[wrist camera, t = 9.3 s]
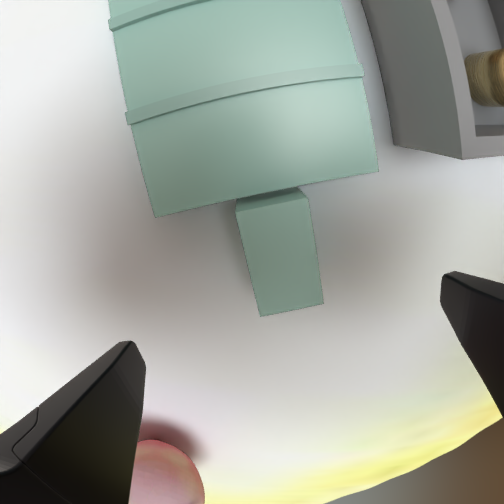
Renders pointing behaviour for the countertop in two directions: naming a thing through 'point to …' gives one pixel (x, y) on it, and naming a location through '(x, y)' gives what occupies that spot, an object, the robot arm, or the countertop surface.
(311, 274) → the lid
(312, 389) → the countertop surface
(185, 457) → the decorative fruit
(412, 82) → the tub
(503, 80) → the round knob
